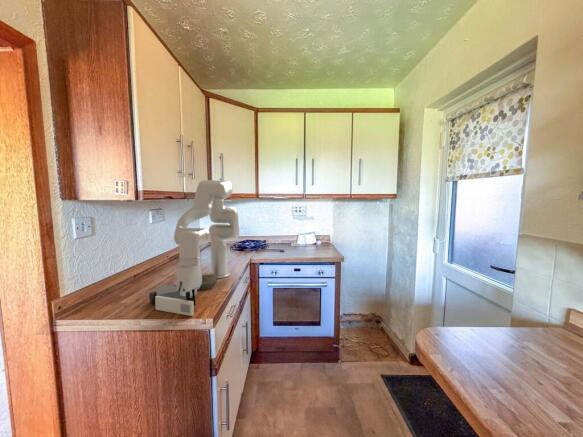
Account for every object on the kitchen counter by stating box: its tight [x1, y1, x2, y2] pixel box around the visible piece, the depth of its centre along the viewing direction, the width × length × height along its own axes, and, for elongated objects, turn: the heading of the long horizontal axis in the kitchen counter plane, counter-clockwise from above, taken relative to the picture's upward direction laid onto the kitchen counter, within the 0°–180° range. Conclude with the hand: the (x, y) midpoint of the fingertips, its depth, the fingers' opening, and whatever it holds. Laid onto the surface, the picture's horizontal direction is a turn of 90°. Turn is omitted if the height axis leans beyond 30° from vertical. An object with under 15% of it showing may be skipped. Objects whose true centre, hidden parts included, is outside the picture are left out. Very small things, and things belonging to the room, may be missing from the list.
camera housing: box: [148, 282, 186, 304], centre depth 108 cm, size 12×14×7 cm
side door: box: [154, 296, 195, 317], centre depth 97 cm, size 1×18×6 cm, turn 73°
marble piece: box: [197, 274, 218, 291], centre depth 129 cm, size 17×15×4 cm
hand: (190, 305), depth 98 cm, fingers closed
